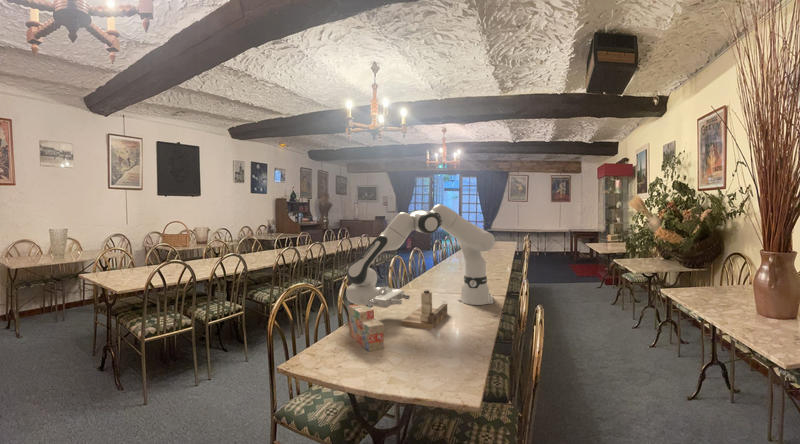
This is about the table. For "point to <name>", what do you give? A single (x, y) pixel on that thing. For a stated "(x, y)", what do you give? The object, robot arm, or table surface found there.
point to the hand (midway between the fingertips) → (405, 299)
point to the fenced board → (417, 322)
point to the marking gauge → (426, 305)
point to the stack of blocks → (365, 327)
